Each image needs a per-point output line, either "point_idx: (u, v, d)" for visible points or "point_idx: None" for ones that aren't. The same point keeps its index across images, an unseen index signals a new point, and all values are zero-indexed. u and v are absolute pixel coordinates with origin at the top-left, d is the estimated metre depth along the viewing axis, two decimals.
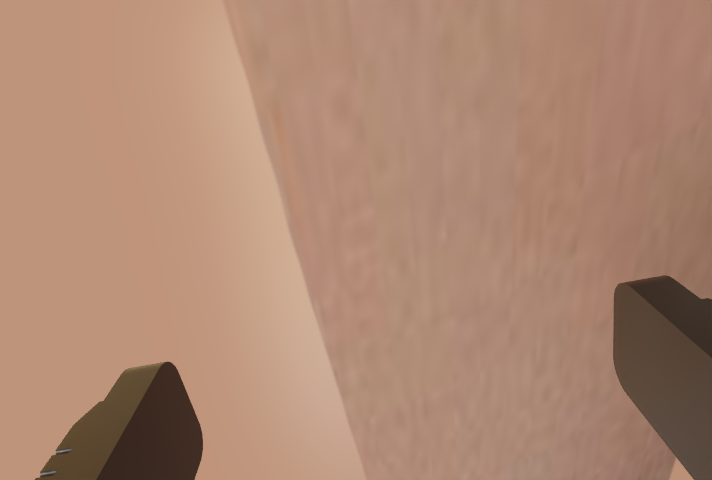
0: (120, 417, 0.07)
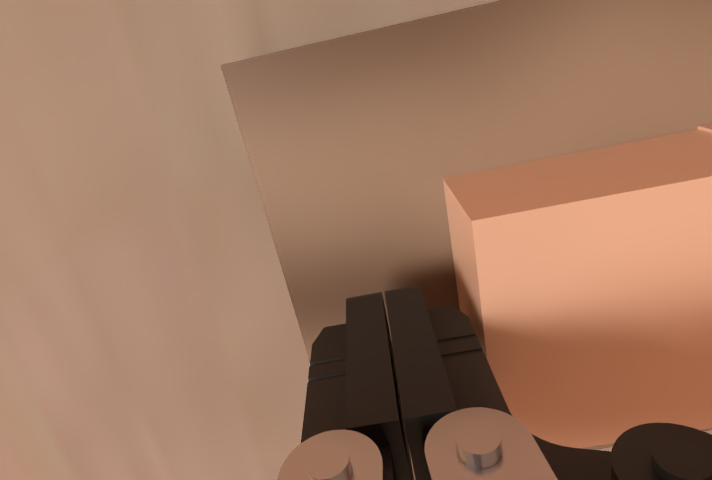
0: (374, 330, 0.08)
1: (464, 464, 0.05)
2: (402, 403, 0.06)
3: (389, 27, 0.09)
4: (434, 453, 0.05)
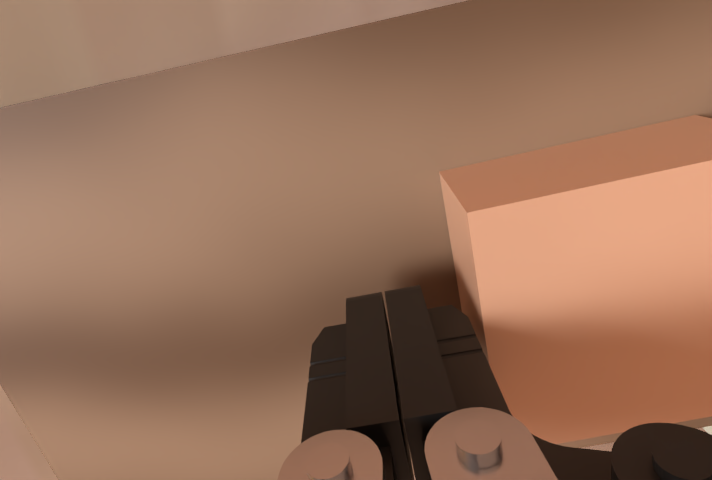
0: (374, 330, 0.08)
1: (464, 464, 0.05)
2: (402, 403, 0.06)
3: (4, 107, 0.09)
4: (433, 453, 0.05)
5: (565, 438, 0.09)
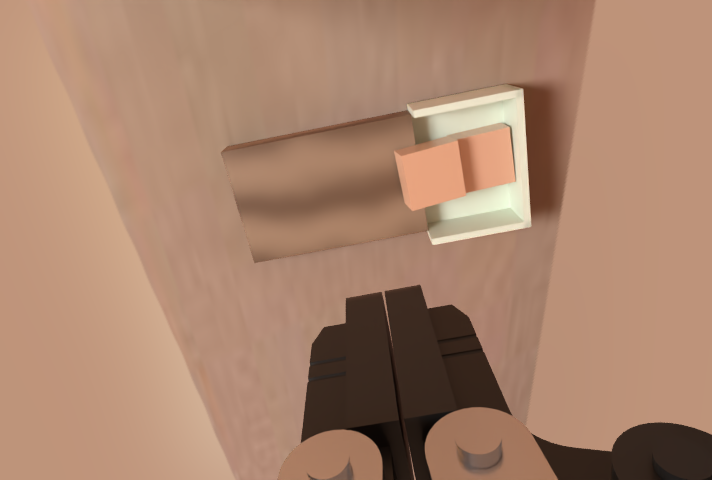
0: (374, 330, 0.08)
1: (465, 464, 0.05)
2: (403, 403, 0.06)
3: (255, 145, 0.43)
4: (434, 453, 0.05)
5: None
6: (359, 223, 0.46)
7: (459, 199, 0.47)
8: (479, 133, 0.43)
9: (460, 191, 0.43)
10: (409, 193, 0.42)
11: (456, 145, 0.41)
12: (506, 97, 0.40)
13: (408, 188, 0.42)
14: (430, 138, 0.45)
